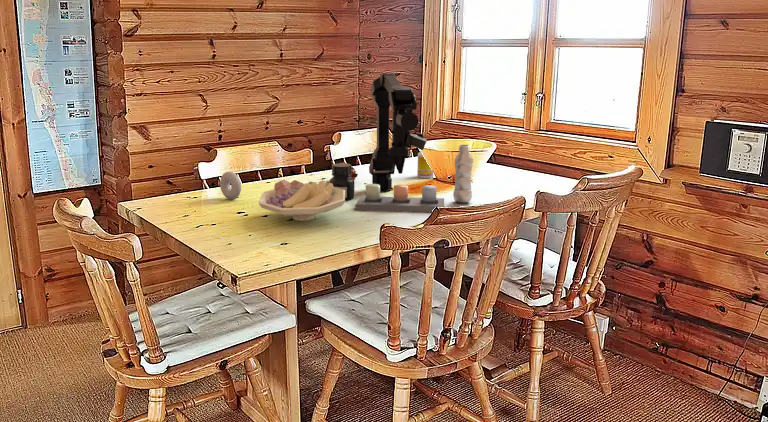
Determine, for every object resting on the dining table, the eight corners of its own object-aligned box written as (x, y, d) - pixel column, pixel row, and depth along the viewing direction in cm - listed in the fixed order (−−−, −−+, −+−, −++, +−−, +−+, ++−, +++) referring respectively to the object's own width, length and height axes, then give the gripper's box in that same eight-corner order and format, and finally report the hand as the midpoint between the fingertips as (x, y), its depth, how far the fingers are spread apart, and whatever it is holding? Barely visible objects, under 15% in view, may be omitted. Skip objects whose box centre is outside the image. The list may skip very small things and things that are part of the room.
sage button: (364, 199, 228) (364, 186, 227) (366, 196, 233) (366, 183, 232) (379, 199, 228) (379, 187, 227) (380, 196, 232) (380, 184, 231)
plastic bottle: (473, 201, 239) (475, 144, 234) (469, 205, 233) (471, 147, 228) (455, 199, 241) (457, 143, 236) (451, 203, 235) (452, 146, 230)
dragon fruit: (335, 183, 274) (354, 192, 266) (323, 173, 267) (342, 182, 259) (346, 165, 275) (366, 174, 267) (334, 155, 268) (354, 164, 260)
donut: (243, 200, 237) (242, 172, 235) (235, 202, 235) (234, 174, 232) (226, 196, 244) (225, 168, 241) (218, 198, 241) (217, 170, 239)
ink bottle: (323, 198, 242) (322, 164, 239) (341, 194, 248) (341, 161, 245) (342, 202, 236) (342, 168, 233) (360, 198, 242) (360, 165, 239)
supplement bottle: (434, 178, 276) (434, 147, 272) (417, 178, 276) (418, 147, 272) (433, 175, 282) (433, 144, 279) (417, 175, 282) (417, 144, 279)
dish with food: (311, 235, 197) (310, 187, 193) (239, 221, 211) (237, 176, 207) (364, 215, 220) (364, 171, 216) (296, 203, 234) (295, 162, 230)
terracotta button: (393, 200, 227) (393, 187, 226) (394, 197, 232) (394, 184, 231) (407, 200, 227) (407, 187, 226) (408, 197, 231) (408, 184, 230)
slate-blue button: (421, 201, 226) (421, 188, 225) (422, 197, 231) (422, 185, 230) (436, 201, 226) (436, 188, 225) (436, 198, 231) (436, 185, 229)
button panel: (355, 210, 226) (355, 204, 225) (360, 201, 237) (360, 195, 237) (443, 212, 223) (443, 206, 222) (444, 203, 234) (444, 198, 234)
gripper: (424, 130, 214) (423, 179, 217) (426, 123, 232) (425, 168, 235) (388, 130, 215) (388, 178, 219) (394, 123, 233) (393, 167, 237)
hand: (400, 173), depth 227 cm, fingers closed
